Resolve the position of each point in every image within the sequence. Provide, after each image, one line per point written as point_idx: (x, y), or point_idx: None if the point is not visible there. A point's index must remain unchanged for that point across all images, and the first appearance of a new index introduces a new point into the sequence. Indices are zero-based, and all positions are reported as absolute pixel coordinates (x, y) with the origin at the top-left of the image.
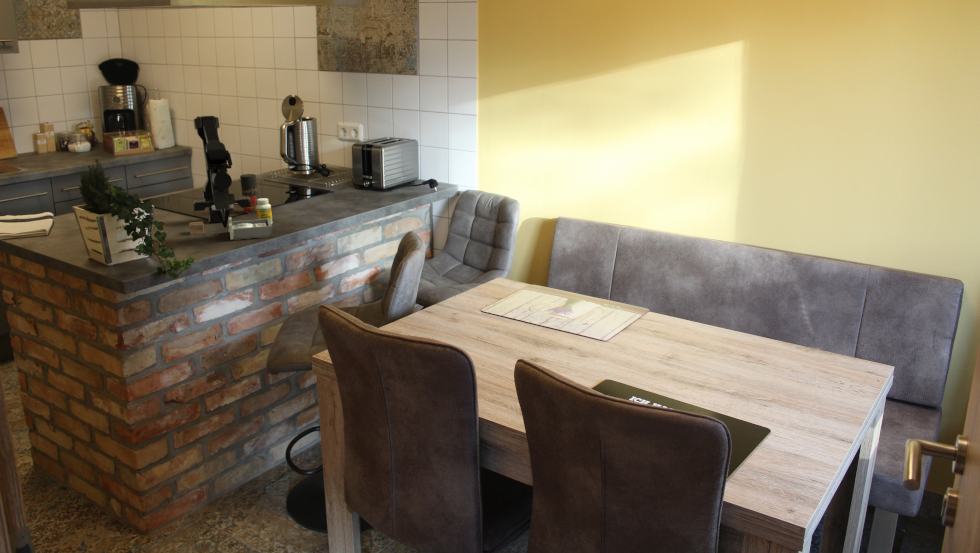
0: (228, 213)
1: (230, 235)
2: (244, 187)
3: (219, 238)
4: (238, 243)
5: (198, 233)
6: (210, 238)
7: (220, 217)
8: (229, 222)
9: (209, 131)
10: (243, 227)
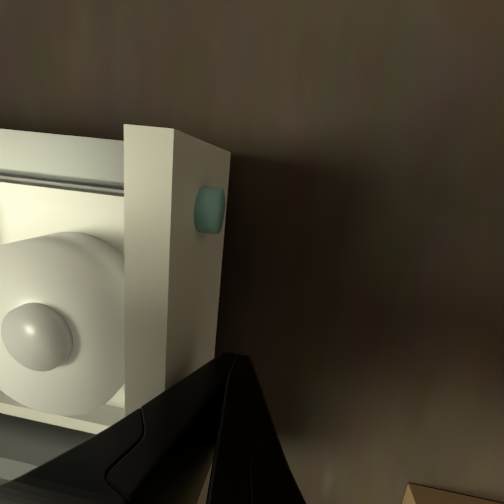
0: (32, 493)
1: (216, 148)
2: None
3: (315, 292)
4: (173, 25)
5: (456, 499)
6: (389, 329)
7: (267, 465)
8: (155, 346)
9: None
10: (41, 244)
